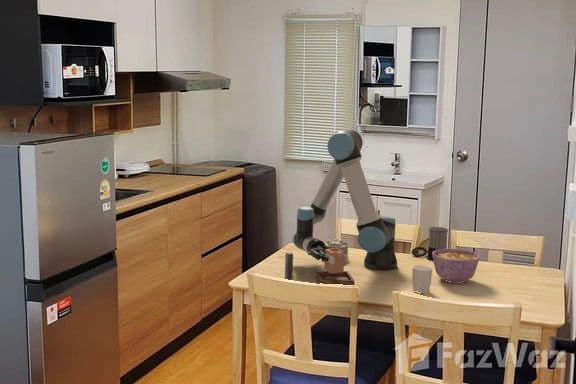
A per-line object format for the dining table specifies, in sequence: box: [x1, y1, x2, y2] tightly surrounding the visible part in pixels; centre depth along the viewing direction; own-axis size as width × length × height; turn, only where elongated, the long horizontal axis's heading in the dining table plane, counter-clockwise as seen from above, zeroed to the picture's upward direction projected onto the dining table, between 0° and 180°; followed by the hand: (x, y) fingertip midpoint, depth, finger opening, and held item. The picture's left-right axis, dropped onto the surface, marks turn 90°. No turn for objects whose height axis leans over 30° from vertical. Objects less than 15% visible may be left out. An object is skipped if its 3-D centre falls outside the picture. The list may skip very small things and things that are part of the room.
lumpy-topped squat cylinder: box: [324, 238, 349, 256], centre depth 339 cm, size 10×13×9 cm
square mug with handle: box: [323, 248, 345, 274], centre depth 301 cm, size 6×8×9 cm
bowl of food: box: [432, 248, 481, 282], centre depth 308 cm, size 20×20×12 cm
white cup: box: [411, 264, 433, 294], centre depth 291 cm, size 8×8×10 cm
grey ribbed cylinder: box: [411, 226, 449, 262], centre depth 344 cm, size 14×16×15 cm
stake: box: [284, 252, 294, 280], centre depth 305 cm, size 2×2×11 cm
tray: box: [315, 270, 355, 286], centre depth 303 cm, size 14×14×2 cm
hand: (340, 260), depth 297 cm, fingers closed on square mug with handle, 6 cm apart
